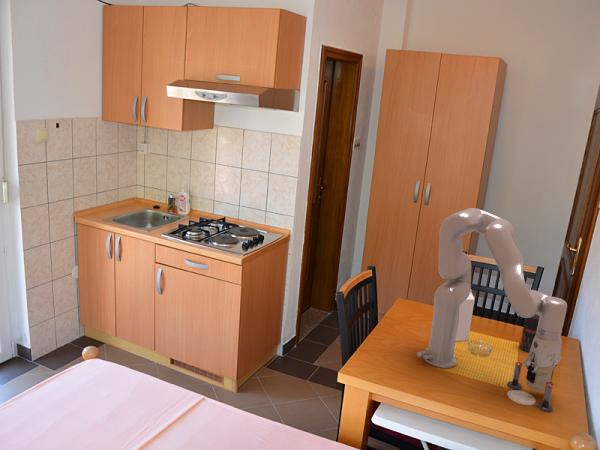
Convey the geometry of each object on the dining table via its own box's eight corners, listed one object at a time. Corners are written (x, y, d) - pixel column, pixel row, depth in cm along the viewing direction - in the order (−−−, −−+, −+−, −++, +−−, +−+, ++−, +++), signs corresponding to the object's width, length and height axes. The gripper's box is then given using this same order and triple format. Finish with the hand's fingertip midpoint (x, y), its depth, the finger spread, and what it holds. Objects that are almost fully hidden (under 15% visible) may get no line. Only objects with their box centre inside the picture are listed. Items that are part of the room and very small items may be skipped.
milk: (468, 340, 224) (476, 292, 219) (455, 341, 222) (463, 292, 217) (460, 334, 230) (468, 286, 224) (447, 334, 228) (455, 287, 223)
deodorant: (532, 354, 216) (539, 320, 212) (517, 349, 219) (524, 316, 216) (536, 349, 220) (542, 316, 217) (521, 344, 224) (527, 312, 220)
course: (544, 413, 173) (549, 388, 171) (504, 383, 190) (508, 360, 188) (587, 405, 180) (592, 381, 178) (544, 377, 197) (548, 355, 195)
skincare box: (530, 390, 181) (537, 359, 178) (525, 384, 185) (532, 352, 183) (548, 392, 181) (555, 360, 178) (543, 385, 185) (550, 354, 183)
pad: (520, 407, 175) (520, 405, 175) (501, 392, 184) (502, 391, 184) (541, 403, 179) (541, 402, 179) (521, 389, 187) (522, 388, 187)
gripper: (537, 340, 172) (527, 388, 176) (576, 335, 178) (565, 382, 182) (520, 330, 178) (511, 377, 183) (558, 326, 185) (548, 371, 189)
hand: (538, 379), depth 182 cm, fingers closed on skincare box, 7 cm apart
